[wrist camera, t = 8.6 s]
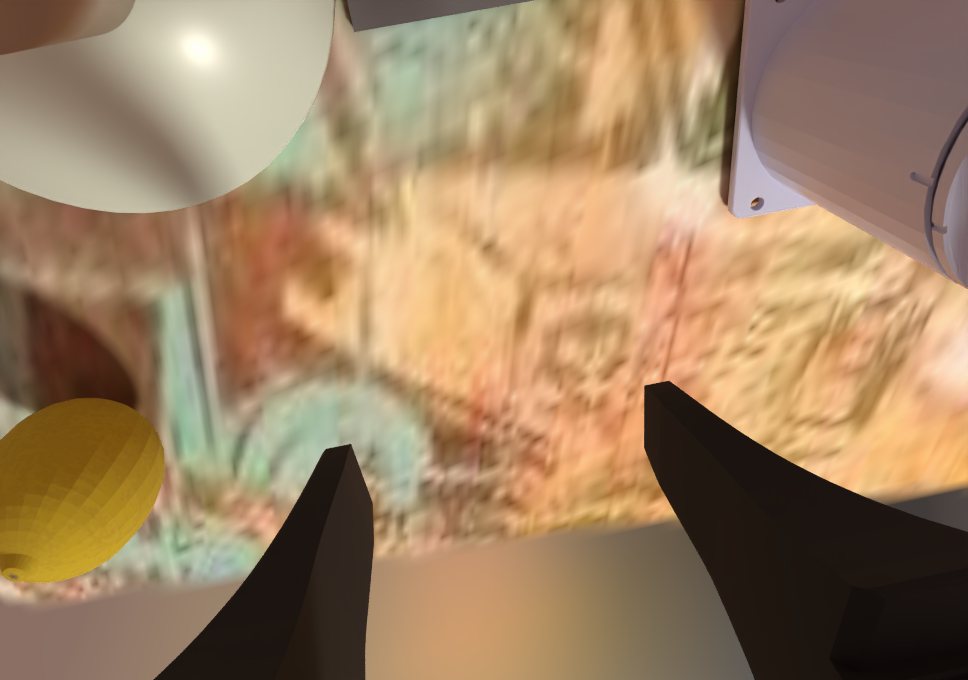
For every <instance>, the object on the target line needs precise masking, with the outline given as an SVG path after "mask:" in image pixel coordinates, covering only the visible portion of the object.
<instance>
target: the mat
mask: <svg viewBox="0 0 968 680" xmlns="http://www.w3.org/2000/svg"><path fill="white" fill-rule="evenodd" d="M527 1H532V0H347V3H348V7H349V11H350V16H351V20H352V24H353V28H354V32H357V31H362V30H368V29H374V28H379V27H385V26H391V25H396V24H402V23H408V22H413V21H419V20H425V19H430V18H436V17H442V16H447V15H453V14H459V13H464V12H470V11H476V10H481V9H487V8H493V7H498V6H504V5H510V4H515V3H521V2H527Z"/></svg>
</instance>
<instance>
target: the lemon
mask: <svg viewBox="0 0 968 680" xmlns="http://www.w3.org/2000/svg"><path fill="white" fill-rule="evenodd" d="M164 468H165V465H164V449H163V446H162V443H161V441H160V438H159V435H158V433H157V431H156V430H155V429H154V427H153V426H152V425H151V423H150V422H149V421H148V420H147V419H146V418H145V417H144V416H143V415H141V414H140V413H139V412H138V411H136V410H134V409H132V408H130V407H129V406H127V405H125V404H122V403H119V402H116V401H113V400H107V399H101V398H76V399H72V400H67V401H63V402H59V403H55V404H52V405H50V406H48V407H46V408H44V409H42V410H40V411H38V412H36V413H34V414H32V415H30V416H28V417H27V418H25V419H24V420H22V421H21V422H20V423H18V424H17V425H16V426H15V427H14V428H13V429H12V430H10V431H9V432H8V433H7V434H6V435H5V436H4V437H3V438H2V439H1V440H0V575H2V576H4V577H5V578H6V579H8V580H10V581H13V582H29V583H47V582H55V581H61V580H66V579H69V578H73V577H76V576H79V575H81V574H84V573H87V572H89V571H91V570H92V569H94V568H96V567H97V566H99V565H101V564H102V563H104V562H106V561H107V560H109V559H110V558H111V557H113V556H114V555H115V554H116V553H117V552H118V551H119V550H120V549H121V548H122V547H123V546H124V545H125V544H126V543H127V542H128V541H129V540H130V538H131V537H132V536H133V535H134V534H135V533H136V532H137V531H138V529H139V528H140V527H141V525H142V524H143V523H144V521H145V520H146V518H147V517H148V515H149V514H150V512H151V510H152V508H153V506H154V504H155V501H156V499H157V496H158V493H159V491H160V488H161V485H162V482H163V477H164Z"/></svg>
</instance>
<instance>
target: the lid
mask: <svg viewBox="0 0 968 680" xmlns="http://www.w3.org/2000/svg"><path fill="white" fill-rule="evenodd" d="M334 17H335V0H0V180H1V181H3V182H6V183H8V184H10V185H12V186H14V187H16V188H19V189H21V190H24V191H27V192H30V193H33V194H35V195H38V196H41V197H44V198H47V199H50V200H53V201H57V202H61V203H65V204H69V205H73V206H77V207H81V208H86V209H94V210H101V211H108V212H119V213H151V212H161V211H171V210H176V209H181V208H185V207H189V206H194V205H198V204H201V203H204V202H206V201H209V200H212V199H214V198H217V197H219V196H222V195H225V194H226V193H228V192H230V191H232V190H234V189H235V188H237V187H239V186H241V185H242V184H244V183H246V182H248V181H249V180H250V179H252V178H253V177H254V176H255V175H257V174H258V173H259V172H260V171H262V170H263V169H264V168H266V167H267V166H268V165H269V164H270V163H271V162H272V161H273V160H274V159H275V158H276V157H277V156H278V155H279V154H280V152H281V151H282V150H283V149H284V148H285V147H286V146H287V145H288V143H289V142H290V141H291V139H292V138H293V136H294V135H295V133H296V132H297V130H298V129H299V127H300V126H301V124H302V123H303V122H304V120H305V119H306V117H307V115H308V113H309V111H310V109H311V107H312V105H313V103H314V101H315V99H316V97H317V94H318V92H319V89H320V86H321V83H322V80H323V77H324V74H325V71H326V68H327V65H328V60H329V55H330V49H331V44H332V38H333V33H334Z"/></svg>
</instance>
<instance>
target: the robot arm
mask: <svg viewBox="0 0 968 680" xmlns="http://www.w3.org/2000/svg"><path fill="white" fill-rule="evenodd" d="M758 197H759V201H758V203H757V204H756V205H755V206H753V207H751V203H752V201H753V200H754V199H755V198H758ZM812 205H818V206H820V207H822V208H824V209H826V210H827V211H829V212H831V213H833V214H834V215H836V216H838V217H840V218H842V219H843V220H845V221H847V222H849V223H850V224H852V225H854V226H856V227H857V228H859V229H861V230H863V231H865V232H866V233H868V234H870V235H872V236H873V237H875V238H877V239H879V240H881V241H882V242H884V243H886V244H888V245H889V246H891V247H893V248H895V249H897V250H898V251H900V252H902V253H904V254H905V255H907V256H909V257H911V258H913V259H914V260H916V261H918V262H920V263H921V264H923V265H925V266H927V267H928V268H930V269H932V270H934V271H936V272H937V273H939V274H941V275H943V276H944V277H946V278H948V279H950V280H952V281H953V282H955V283H957V284H960V285H961V286H963V287H965V288H966V289H968V0H778V1H777V2H776V1H775V0H746V1H745V12H744V24H743V35H742V47H741V58H740V70H739V81H738V93H737V104H736V116H735V128H734V139H733V151H732V162H731V174H730V185H729V197H728V210H729V212H730V213H731V214H732V215H733V216H735V217H737V218H747V217H752V216H757V215H763V214H768V213H774V212H779V211H785V210H790V209H796V208H801V207H806V206H812ZM644 448H645V451H646V453H647V456H648V458H649V461H650V463H651V466H652V468H653V471H654V473H655V476H656V478H657V480H658V483H659V485H660V487H661V488H662V490H663V492H664V494H665V496H666V497H667V499H668V501H669V503H670V505H671V506H672V508H673V510H674V512H675V513H676V515H677V517H678V519H679V520H680V522H681V524H682V526H683V527H684V529H685V531H686V533H687V534H688V536H689V538H690V540H691V541H692V543H693V545H694V547H695V548H696V550H697V552H698V554H699V555H700V557H701V559H702V561H703V563H704V564H705V566H706V568H707V570H708V572H709V574H710V576H711V578H712V580H713V582H714V585H715V587H716V589H717V591H718V593H719V596H720V598H721V600H722V603H723V605H724V607H725V609H726V611H727V614H728V616H729V618H730V621H731V623H732V626H733V628H734V630H735V633H736V635H737V637H738V640H739V642H740V644H741V647H742V649H743V651H744V654H745V656H746V659H747V661H748V663H749V666H750V668H751V671H752V674H753V676H754V679H755V680H968V532H966V531H963V530H960V529H956V528H952V527H950V526H946V525H943V524H939V523H936V522H932V521H929V520H926V519H923V518H920V517H917V516H915V515H912V514H909V513H906V512H903V511H901V510H898V509H895V508H892V507H889V506H887V505H884V504H881V503H879V502H876V501H874V500H871V499H869V498H866V497H864V496H861V495H859V494H857V493H854V492H852V491H850V490H847V489H845V488H843V487H841V486H838V485H836V484H834V483H832V482H829V481H827V480H825V479H823V478H821V477H819V476H817V475H815V474H813V473H811V472H809V471H807V470H805V469H803V468H801V467H799V466H797V465H795V464H793V463H791V462H789V461H788V460H786V459H784V458H782V457H781V456H779V455H777V454H775V453H774V452H772V451H770V450H769V449H767V448H765V447H764V446H762V445H760V444H759V443H757V442H755V441H754V440H752V439H750V438H749V437H747V436H746V435H744V434H743V433H741V432H740V431H738V430H737V429H735V428H734V427H732V426H731V425H729V424H728V423H726V422H725V421H724V420H722V419H721V418H719V417H718V416H716V415H715V414H714V413H712V412H711V411H709V410H708V409H707V408H705V407H704V406H703V405H701V404H700V403H699V402H697V401H696V400H694V399H693V398H692V397H690V396H689V395H688V394H686V393H685V392H684V391H682V390H681V389H680V388H678V387H677V386H675V385H674V384H673V383H671V382H670V381H666V382H661V383H656V384H651V385H645V387H644ZM373 547H374V528H373V504H372V500H371V497H370V495H369V492H368V489H367V486H366V484H365V481H364V478H363V475H362V473H361V470H360V467H359V465H358V462H357V459H356V456H355V454H354V451H353V448H352V445H351V444H349V445H344V446H339V447H334V448H329V449H326V450H325V451H324V452H323V454H322V456H321V458H320V459H319V461H318V463H317V465H316V467H315V469H314V471H313V473H312V475H311V477H310V479H309V480H308V482H307V484H306V486H305V488H304V490H303V491H302V493H301V495H300V497H299V499H298V500H297V502H296V504H295V505H294V507H293V509H292V511H291V512H290V514H289V516H288V517H287V519H286V521H285V522H284V524H283V526H282V527H281V529H280V530H279V532H278V533H277V535H276V537H275V538H274V540H273V541H272V543H271V544H270V546H269V547H268V549H267V550H266V552H265V553H264V555H263V556H262V558H261V559H260V561H259V562H258V563H257V565H256V566H255V568H254V569H253V570H252V572H251V573H250V574H249V576H248V577H247V578H246V580H245V581H244V582H243V584H242V585H241V586H240V588H239V589H238V590H237V591H236V593H235V594H234V595H233V596H232V597H231V599H230V600H229V601H228V602H227V603H226V605H225V606H224V607H223V608H222V610H220V612H219V613H218V614H217V615H216V616H215V617H214V618H213V620H212V621H211V622H210V623H209V624H208V625H207V626H206V627H205V629H204V630H203V631H202V632H201V633H200V634H199V635H198V636H197V637H196V638H195V639H194V640H193V641H192V643H190V645H189V646H188V647H187V648H186V649H185V650H184V651H183V652H182V653H181V654H180V655H179V656H178V657H177V658H176V659H175V660H174V661H173V662H172V663H171V664H169V665H168V666H167V667H166V668H165V669H164V670H163V671H162V672H161V673H160V674H159V675H158V676H157V677H156V678H155V679H154V680H365V642H366V641H365V640H366V626H367V615H368V603H369V592H370V582H371V570H372V559H373Z"/></svg>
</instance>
